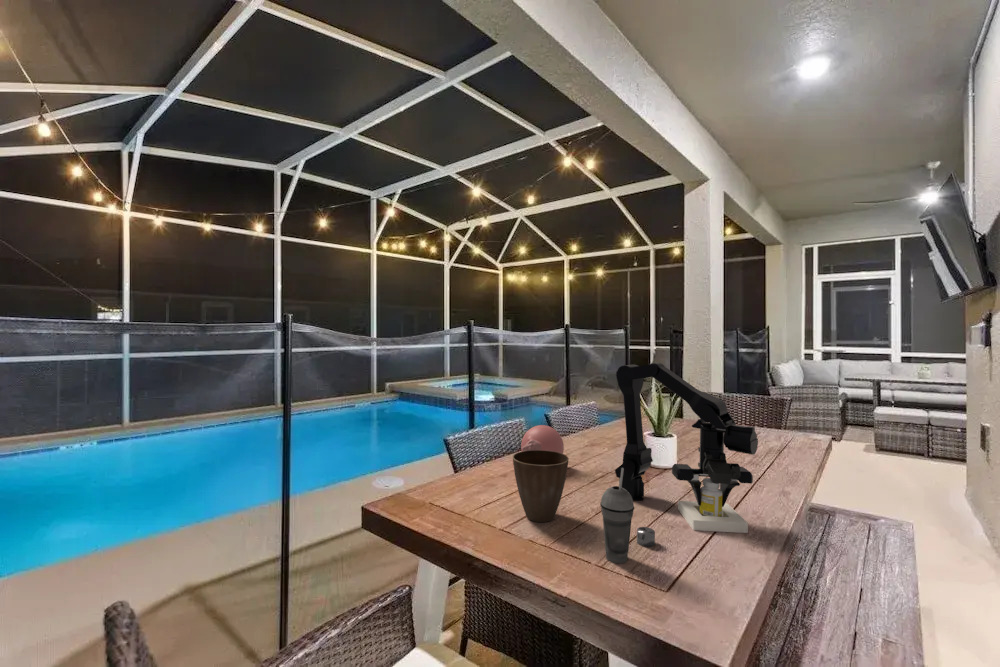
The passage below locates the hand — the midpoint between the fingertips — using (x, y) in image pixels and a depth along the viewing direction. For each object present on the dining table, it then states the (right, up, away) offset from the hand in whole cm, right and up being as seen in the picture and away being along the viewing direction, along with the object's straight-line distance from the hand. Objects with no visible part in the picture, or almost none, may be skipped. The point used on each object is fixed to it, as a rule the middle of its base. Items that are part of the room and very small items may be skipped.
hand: (710, 505), depth 118 cm
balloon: (-42, -4, +42) cm, 60 cm away
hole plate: (0, -4, 0) cm, 4 cm away
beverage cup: (-30, -4, -20) cm, 36 cm away
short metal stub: (-21, -4, -13) cm, 25 cm away
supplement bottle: (0, -3, 0) cm, 3 cm away
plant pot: (-45, -4, +1) cm, 45 cm away
